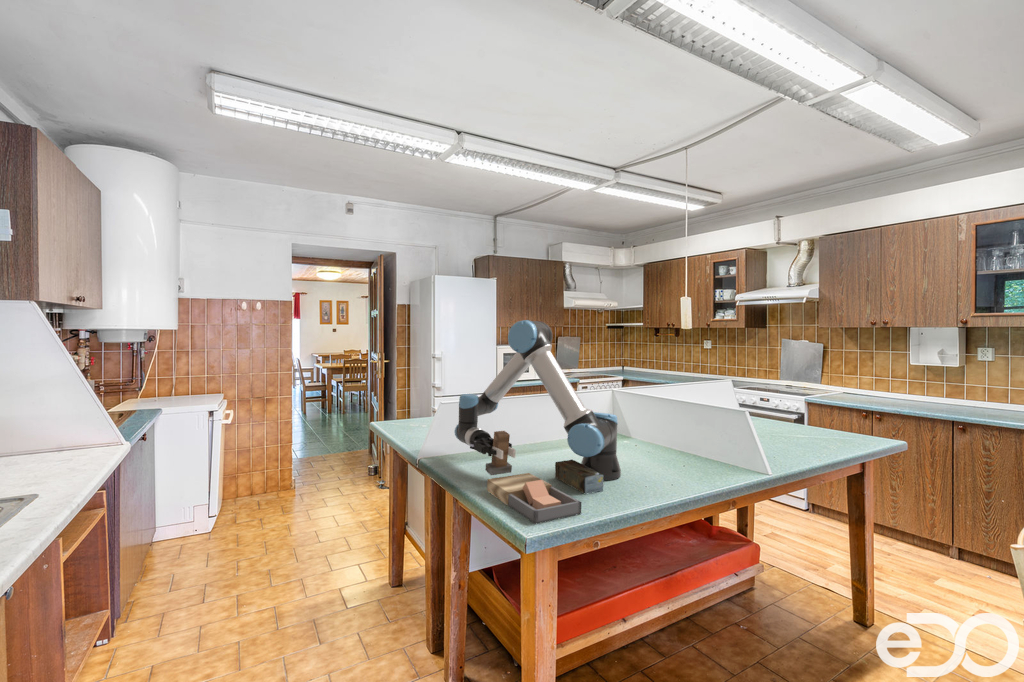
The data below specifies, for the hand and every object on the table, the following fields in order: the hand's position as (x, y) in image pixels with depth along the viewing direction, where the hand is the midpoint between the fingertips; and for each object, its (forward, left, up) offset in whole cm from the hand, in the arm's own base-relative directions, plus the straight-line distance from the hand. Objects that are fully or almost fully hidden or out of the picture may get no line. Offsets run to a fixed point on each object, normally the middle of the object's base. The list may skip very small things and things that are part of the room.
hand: (508, 454), depth 160 cm
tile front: (-14, +19, -8) cm, 25 cm away
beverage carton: (-24, -8, -12) cm, 28 cm away
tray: (-13, +18, -11) cm, 25 cm away
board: (-4, +6, -11) cm, 13 cm away
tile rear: (-10, +13, -9) cm, 18 cm away
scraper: (+4, -5, -8) cm, 10 cm away
